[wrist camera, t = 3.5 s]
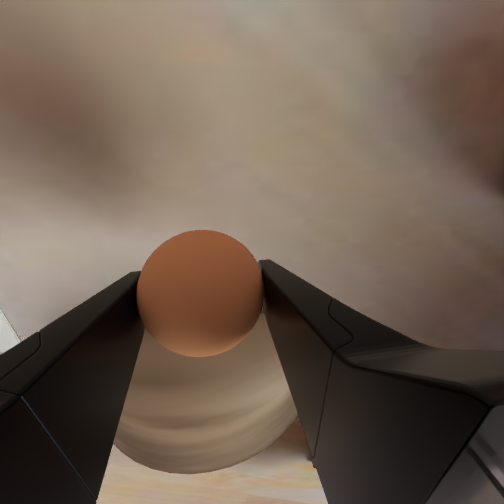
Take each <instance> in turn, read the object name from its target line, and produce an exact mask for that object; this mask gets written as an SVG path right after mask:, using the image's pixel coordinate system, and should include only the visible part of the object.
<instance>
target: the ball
mask: <svg viewBox="0 0 504 504" xmlns="http://www.w3.org/2000/svg"><path fill="white" fill-rule="evenodd" d="M263 302H264V281H263V277H262V272H261V270H260V268H259V265H258V263H257V261H256V260H255V258H254V256H253V255H252V254H251V253H250V252H249V250H248V249H247V248H246V247H245V246H244V245H243V244H242V243H240V242H239V241H237V240H236V239H234V238H232V237H230V236H228V235H226V234H223V233H220V232H216V231H210V230H195V231H189V232H185V233H182V234H179V235H177V236H174V237H172V238H170V239H169V240H167V241H165V242H164V243H163V244H161V245H160V246H159V247H158V248H157V249H156V250H155V251H154V252H153V253H152V254H151V256H150V257H149V258H148V260H147V261H146V263H145V265H144V267H143V269H142V271H141V274H140V277H139V280H138V285H137V305H138V310H139V314H140V317H141V319H142V322H143V324H144V326H145V327H146V329H147V331H148V332H149V333H150V334H151V336H152V337H153V338H154V339H155V340H156V341H157V342H158V343H160V344H161V345H162V346H164V347H165V348H167V349H169V350H170V351H173V352H175V353H177V354H181V355H185V356H191V357H207V356H212V355H216V354H220V353H222V352H225V351H227V350H229V349H231V348H233V347H234V346H236V345H237V344H238V343H240V342H241V341H242V340H243V339H244V338H245V337H246V336H247V335H248V334H249V333H250V331H251V330H252V329H253V328H254V326H255V324H256V323H257V321H258V318H259V316H260V314H261V311H262V307H263Z"/></svg>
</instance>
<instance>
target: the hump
mask: <svg viewBox="0 0 504 504" xmlns="http://www.w3.org/2000/svg"><path fill="white" fill-rule="evenodd" d="M297 416H298V413H297V410H296V407H295V404H294V401H293V398H292V395H291V392H290V389H289V386H288V383H287V381H286V378H285V375H284V372H283V369H282V366H281V363H280V360H279V357H278V354H277V351H276V348H275V345H274V342H273V339H272V336H271V333H270V331H269V328H268V325H267V321H266V317H265V313H261V314H260V316H259V318H258V321H257V323H256V324H255V326H254V328H253V329H252V330H251V331H250V333H249V334H248V335H247V336H246V337H245V338H244V339H243V340H242V341H241V342H240V343H238V344H237V345H236V346H234V347H233V348H231V349H229V350H227V351H225V352H222V353H220V354H216V355H212V356H207V357H191V356H185V355H181V354H177V353H175V352H173V351H170V350H169V349H167V348H165V347H164V346H162V345H161V344H160V343H158V342H157V341H156V340H155V339H154V338H153V337H152V336H151V334H150V333H149V332H148V331H147V329H146V327H145V330H144V335H143V339H142V343H141V347H140V350H139V354H138V357H137V361H136V364H135V368H134V371H133V375H132V378H131V382H130V385H129V389H128V393H127V396H126V400H125V403H124V407H123V410H122V414H121V417H120V421H119V424H118V428H117V431H116V435H115V438H114V442H113V444H114V445H115V446H116V447H117V448H118V449H119V450H120V451H121V452H122V453H124V454H125V455H127V456H128V457H129V458H131V459H132V460H134V461H135V462H137V463H140V464H142V465H144V466H147V467H149V468H151V469H155V470H159V471H164V472H168V473H179V474H196V473H205V472H212V471H216V470H220V469H223V468H227V467H231V466H233V465H236V464H238V463H240V462H243V461H245V460H247V459H250V458H251V457H253V456H254V455H256V454H258V453H259V452H261V451H263V450H264V449H266V448H267V447H268V446H270V445H271V444H272V443H273V442H274V441H276V440H277V439H278V438H279V437H280V436H282V434H283V433H284V432H285V431H286V430H287V429H288V428H289V427H290V426H291V424H292V423H293V422H294V421H295V419H296V418H297Z"/></svg>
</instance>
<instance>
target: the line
mask: <svg viewBox="0 0 504 504" xmlns="http://www.w3.org/2000/svg"><path fill="white" fill-rule="evenodd" d="M20 342H21V341H20V340H19V338H18V337H17V335H16V333H15V332H14V330H13V329H12V327H11V325H10V324H9V322H8V321H7V319H6V317H5V316H4V314H3V313H2V311H1V309H0V351H1V353H4V352H6V351H7V350H9V349H11V348H12V347H14V346H15V345H17V344H19V343H20Z"/></svg>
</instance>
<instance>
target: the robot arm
mask: <svg viewBox="0 0 504 504" xmlns="http://www.w3.org/2000/svg"><path fill="white" fill-rule="evenodd" d="M258 265H259V268H260V270H261V272H262V277H263V281H264V302H263V308H264V313H265V317H266V321H267V325H268V328H269V331H270V333H271V336H272V339H273V342H274V345H275V348H276V351H277V354H278V357H279V360H280V363H281V366H282V369H283V372H284V375H285V378H286V381H287V383H288V386H289V389H290V392H291V395H292V398H293V401H294V404H295V407H296V410H297V413H298V416H299V419H300V422H301V425H302V428H303V430H304V433H305V436H306V439H307V442H308V445H309V448H310V451H311V454H312V457H313V460H312V464H313V467H314V468H316V469H317V472H318V475H319V478H320V481H321V484H322V487H323V490H324V493H325V495H326V498H327V501H328V504H504V351H484V350H447V349H440V348H435V347H431V346H428V345H425V344H422V343H420V342H417V341H415V340H413V339H411V338H409V337H407V336H405V335H403V334H401V333H399V332H397V331H395V330H393V329H391V328H389V327H387V326H385V325H383V324H381V323H379V322H377V321H375V320H373V319H371V318H369V317H367V316H365V315H363V314H361V313H359V312H357V311H355V310H354V309H352V308H350V307H348V306H347V305H345V304H343V303H341V302H340V301H338V300H336V299H335V298H333V297H331V296H330V295H328V294H326V293H325V292H323V291H321V290H320V289H318V288H316V287H315V286H313V285H311V284H310V283H308V282H306V281H305V280H303V279H301V278H300V277H298V276H296V275H295V274H293V273H291V272H290V271H288V270H286V269H285V268H283V267H281V266H280V265H278V264H276V263H275V262H273V261H271V260H269V259H268V260H260V261H259V263H258ZM140 274H141V271H137V272H130V273H129V274H127V275H125V276H124V277H122V278H121V279H119V280H118V281H116V282H114V283H113V284H111V285H110V286H108V287H107V288H105V289H103V290H102V291H100V292H99V293H97V294H96V295H94V296H92V297H91V298H89V299H88V300H86V301H85V302H83V303H82V304H80V305H78V306H77V307H75V308H74V309H72V310H71V311H69V312H67V313H66V314H64V315H63V316H61V317H60V318H58V319H56V320H55V321H53V322H52V323H50V324H49V325H47V326H45V327H44V328H42V329H41V330H40V332H36V333H34V334H33V335H31V336H30V337H28V338H27V339H25V340H23V341H22V342H20V343H19V344H17V345H15V346H14V347H12V348H11V349H9V350H7V351H6V352H4V353H2V354H1V355H0V504H96V500H97V498H98V495H99V491H100V488H101V484H102V481H103V477H104V474H105V470H106V467H107V463H108V460H109V456H110V453H111V449H112V446H113V442H114V438H115V435H116V431H117V428H118V424H119V421H120V417H121V414H122V410H123V407H124V403H125V400H126V396H127V393H128V389H129V385H130V382H131V378H132V375H133V371H134V368H135V364H136V361H137V357H138V354H139V350H140V347H141V343H142V339H143V335H144V330H145V326H144V324H143V322H142V319H141V317H140V314H139V310H138V305H137V285H138V280H139V277H140Z"/></svg>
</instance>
